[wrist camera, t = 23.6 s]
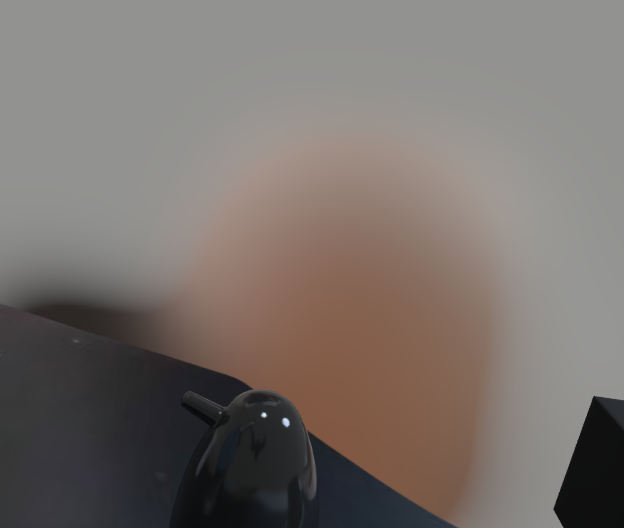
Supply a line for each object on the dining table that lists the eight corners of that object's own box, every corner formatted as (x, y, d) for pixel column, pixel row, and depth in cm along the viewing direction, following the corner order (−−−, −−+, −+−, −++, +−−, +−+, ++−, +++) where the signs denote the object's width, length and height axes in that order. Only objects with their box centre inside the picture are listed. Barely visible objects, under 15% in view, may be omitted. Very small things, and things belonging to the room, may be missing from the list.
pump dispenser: (182, 517, 47) (203, 345, 42) (311, 541, 47) (346, 372, 42) (137, 631, 37) (158, 425, 33) (300, 662, 37) (343, 459, 32)
